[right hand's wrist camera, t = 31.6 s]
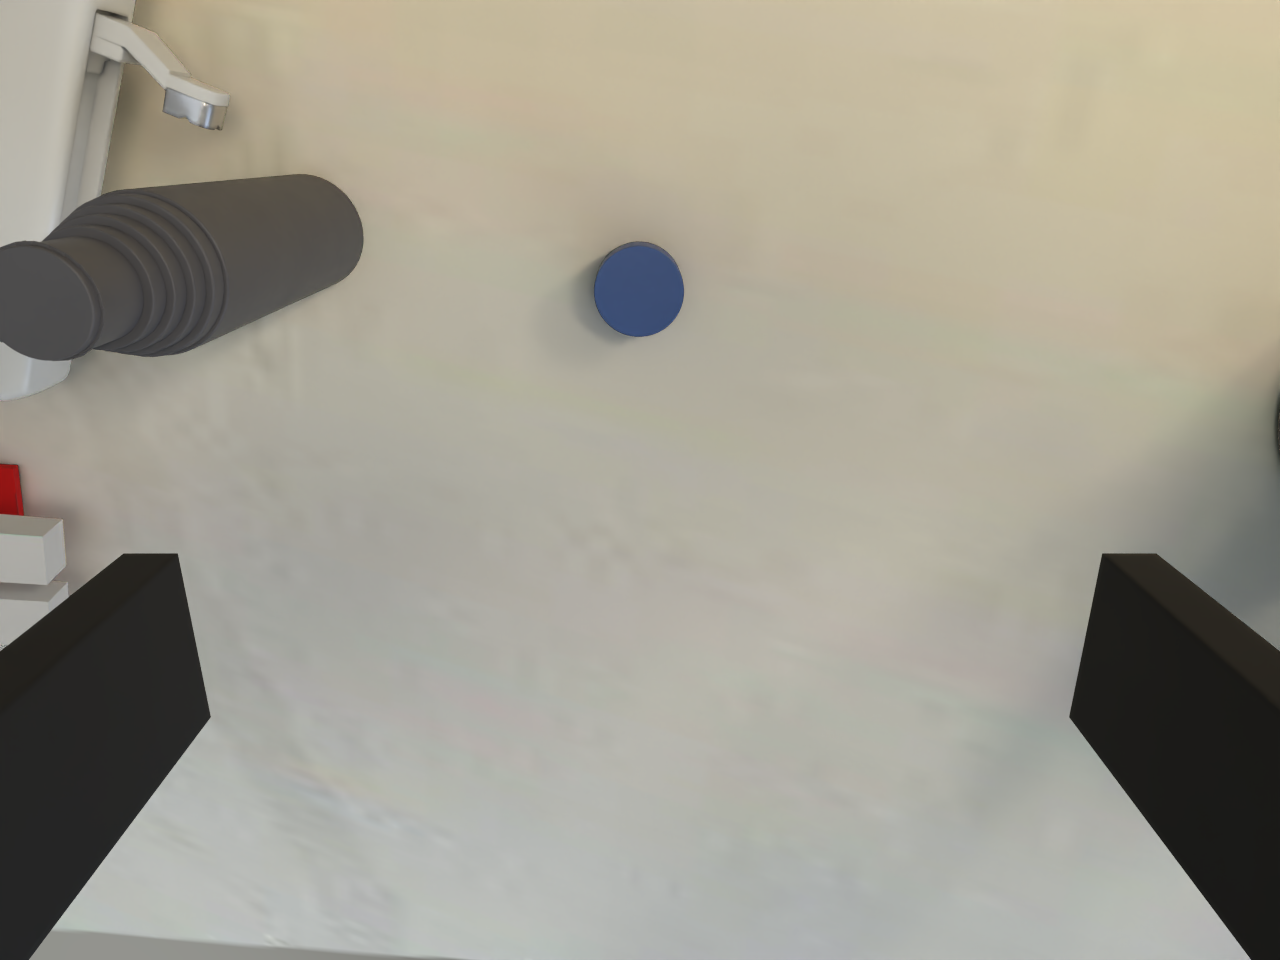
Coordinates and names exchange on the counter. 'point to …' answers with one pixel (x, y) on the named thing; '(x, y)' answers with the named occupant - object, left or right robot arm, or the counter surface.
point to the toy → (27, 561)
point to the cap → (638, 289)
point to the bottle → (174, 265)
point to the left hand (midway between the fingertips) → (196, 225)
